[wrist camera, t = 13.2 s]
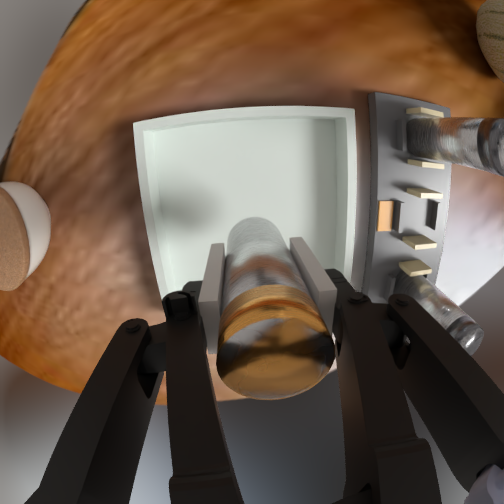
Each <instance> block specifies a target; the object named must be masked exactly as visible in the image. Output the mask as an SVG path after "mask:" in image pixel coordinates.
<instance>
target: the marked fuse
mask: <svg viewBox="0 0 504 504" xmlns="http://www.w3.org/2000/svg"><path fill="white" fill-rule="evenodd" d="M334 358H335V345H334V342H333V339H332V337H331V335H330V333H329V330H328V328H327V326H326V324H325V322H324V320H323V317H322V315H321V313H320V311H319V309H318V307H317V305H316V303H315V302H314V301H313V299H312V297H311V295H310V293H309V291H308V288H307V286H306V284H305V282H304V280H303V278H302V276H301V274H300V272H299V270H298V268H297V265H296V263H295V261H294V259H293V257H292V255H291V253H290V251H289V249H288V247H287V245H286V243H285V241H284V239H283V237H282V235H281V233H280V231H279V229H278V228H277V227H276V225H275V224H274V223H272V222H271V221H269V220H267V219H265V218H261V217H249V218H246V219H243V220H241V221H239V222H238V223H237V224H236V225H235V226H234V227H233V228H232V229H231V231H230V233H229V235H228V239H227V248H226V260H225V271H224V283H223V296H222V309H221V318H220V322H219V332H218V345H217V359H216V366H217V371H218V374H219V376H220V378H221V380H222V381H223V382H224V383H225V384H226V385H227V386H228V387H229V388H230V389H232V390H233V391H235V392H237V393H238V394H241V395H243V396H246V397H249V398H254V399H261V400H276V399H283V398H288V397H292V396H294V395H298V394H300V393H302V392H304V391H306V390H308V389H310V388H311V387H313V386H314V385H316V384H317V383H318V382H319V381H321V380H322V379H323V378H324V377H325V375H326V374H327V373H328V372H329V370H330V368H331V366H332V364H333V362H334Z"/></svg>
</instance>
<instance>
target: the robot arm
mask: <svg viewBox="0 0 504 504" xmlns="http://www.w3.org/2000/svg"><path fill="white" fill-rule="evenodd" d="M289 239H290V253H291V255H292V257H293V259H294V261H295V263H296V265H297V268H298V270H299V272H300V274H301V276H302V278H303V280H304V282H305V284H306V286H307V288H308V291H309V293H310V295H311V297H312V299H313V301H314V302H315V303H316V305H317V307H318V309H319V311H320V313H321V315H322V317H323V320H324V322H325V324H326V326H327V328H328V330H329V333H330V335H331V337H332V332H333V334H334V336H335V338H336V340H335V357H336V363H337V371H338V378H339V388H340V398H341V408H342V419H343V433H344V448H345V468H346V481H345V486H344V491H343V499H341V500H339V501H337V502H335V503H332V504H442V502H441V495H440V490H439V484H438V479H437V474H436V469H435V465H434V460H433V456H432V452H431V448H430V445H429V443H428V442H427V440H426V439H423V438H418V437H417V436H416V433H415V430H414V426H413V422H412V418H411V414H410V411H409V407H408V404H407V400H406V397H405V394H404V391H405V393H406V394H407V396H408V397H409V399H410V400H411V402H412V404H413V406H414V407H415V409H416V410H417V412H418V414H419V415H420V417H421V419H422V420H423V422H424V424H425V425H426V427H427V429H428V430H429V432H430V434H431V436H432V437H433V439H434V441H435V442H436V444H437V446H438V448H439V449H440V451H441V453H442V455H443V457H444V458H445V460H446V462H447V464H448V465H449V467H450V469H451V471H452V473H453V474H454V476H455V477H456V479H457V480H458V481H459V483H460V484H461V485H462V486H463V488H464V489H465V490H466V491H468V492H469V496H468V497H466V499H465V502H464V504H504V394H503V393H502V392H501V390H500V389H499V388H498V387H497V385H496V384H495V383H494V382H493V381H492V379H491V378H490V377H489V376H488V375H487V374H486V373H485V371H484V370H483V369H482V368H481V367H480V366H479V365H478V364H477V363H476V361H475V360H474V359H473V358H472V357H471V356H470V355H469V354H468V353H467V351H466V350H465V349H464V348H463V347H462V346H461V345H460V344H459V343H458V342H457V341H456V340H455V339H454V338H453V337H452V336H451V335H450V334H449V333H448V332H447V331H446V330H445V328H444V327H443V326H442V325H441V324H440V323H439V322H438V321H437V320H436V319H435V318H433V317H432V316H431V315H430V314H429V313H428V312H427V311H426V310H425V309H424V308H423V307H422V306H421V305H420V304H419V303H418V302H417V301H416V300H415V299H414V298H412V297H411V296H409V295H406V294H402V293H399V294H393V295H391V296H390V297H389V298H388V302H387V304H386V303H372V302H371V299H370V298H369V297H368V296H367V295H365V294H363V293H360V292H356V291H355V290H354V289H353V287H352V286H351V285H350V283H349V282H348V281H347V279H346V278H345V277H344V275H343V274H342V273H341V272H340V271H338V270H336V269H334V268H332V269H323V267H322V266H321V264H320V263H319V261H318V260H317V258H316V257H315V255H314V254H313V252H312V251H311V250H310V248H309V247H308V245H307V244H306V242H305V241H304V239H303V238H302V237H291V238H289ZM225 260H226V257H225V247H224V243H215V244H211V248H210V252H209V256H208V260H207V265H206V269H205V273H204V278H203V280H201V281H189V282H187V283H186V284H185V285H184V286H183V288H182V290H179V291H174V292H171V293H169V294H167V295H166V296H164V297H163V299H162V305H163V308H164V312H165V316H166V322H164V323H161V324H157V325H153V326H149V325H148V323H147V321H145V320H144V319H139V318H136V319H130V320H127V321H126V322H124V323H122V324H121V325H120V327H119V328H118V330H117V331H116V333H115V335H114V336H113V338H112V340H111V341H110V343H109V345H108V346H107V348H106V350H105V352H104V353H103V355H102V357H101V358H100V360H99V362H98V364H97V366H96V367H95V369H94V371H93V373H92V375H91V376H90V378H89V380H88V382H87V384H86V386H85V388H84V389H83V391H82V393H81V395H80V397H79V399H78V401H77V403H76V405H75V407H74V409H73V411H72V413H71V415H70V417H69V419H68V421H67V423H66V425H65V427H64V430H63V432H62V434H61V436H60V438H59V440H58V442H57V445H56V447H55V449H54V451H53V454H52V456H51V458H50V461H49V463H48V466H47V468H46V471H45V473H44V476H43V478H42V481H41V483H40V486H39V488H38V489H37V490H36V491H35V492H34V493H33V494H32V495H31V497H30V498H29V499H28V500H27V501H26V502H25V503H24V504H129V501H130V496H131V492H132V488H133V483H134V480H135V475H136V471H137V467H138V463H139V459H140V456H141V451H142V448H143V444H144V440H145V437H146V433H147V430H148V426H149V422H150V418H151V415H152V412H153V408H154V405H155V402H156V398H157V395H158V392H159V388H160V385H161V382H162V378H163V375H164V371H166V387H167V408H168V424H169V436H170V448H171V458H172V466H173V476H172V477H171V478H170V480H169V493H170V500H171V504H244V501H243V498H242V495H241V492H240V489H239V485H238V482H237V479H236V475H235V472H234V468H233V465H232V461H231V457H230V454H229V450H228V446H227V442H226V438H225V435H224V430H223V426H222V422H221V418H220V414H219V410H218V406H217V401H216V396H215V392H214V387H213V383H212V378H211V373H210V368H209V363H208V358H207V354H206V350H207V349H208V353H209V354H217V345H218V332H219V322H220V318H221V309H222V296H223V283H224V271H225ZM407 337H408V338H409V340H410V344H409V343H408V342H407V341H406V339H407ZM334 359H335V358H334Z"/></svg>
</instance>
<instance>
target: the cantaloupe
mask: <svg viewBox="0 0 504 504" xmlns="http://www.w3.org/2000/svg"><path fill="white" fill-rule="evenodd" d="M476 29H477V39H478V43H479V45H480V48H481V50H482V53H483V55H484V57H485V58H486V60H487V62H488V64H489V65H490V67H491V68H492V70H493V71H494V73H495V74H496V76H497V77H498V78H499V79H500V80H501V81H502V82H503V83H504V0H487V1H486V2H485V3H483V4H482V5H481V6H480V8H479V10H478V13H477V21H476Z"/></svg>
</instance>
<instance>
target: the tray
mask: <svg viewBox="0 0 504 504" xmlns="http://www.w3.org/2000/svg"><path fill="white" fill-rule="evenodd" d="M133 129H134V141H135V152H136V161H137V170H138V178H139V185H140V193H141V199H142V206H143V212H144V218H145V224H146V230H147V235H148V240H149V245H150V250H151V255H152V260H153V265H154V269H155V274H156V278H157V283H158V287H159V291H160V295H161V299H163V297H164V296H166V295H167V294H169V293H171V292H174V291H179V290H182V288H183V286H184V285H185V284H186V283H187V282H189V281H201V280H203V278H204V273H205V269H206V265H207V260H208V256H209V252H210V248H211V244H215V243H224V247H225V257H226V248H227V239H228V235H229V233H230V231H231V229H232V228H233V227H234V226H235V225H236V224H237V223H238V222H239V221H241V220H243V219H246V218H249V217H261V218H265V219H267V220H269V221H271V222H272V223H274V224H275V225H276V227H277V228H278V229H279V231H280V233H281V235H282V237H283V239H284V241H285V243H286V245H287V247H288V249H289V251H290V239H289V238H291V237H302V238H303V239H304V241H305V242H306V244H307V245H308V247H309V248H310V250H311V251H312V252H313V254H314V255H315V257H316V258H317V260H318V261H319V263H320V264H321V266H322V267H323V269H332V268H334V269H336V270H338V271H340V272H341V273H342V274H343V275H344V277H345V278H346V279H347V281H348V282H349V283H351V273H352V263H353V251H354V236H355V218H356V184H357V161H356V127H355V110H354V109H351V108H338V107H319V106H260V107H242V108H228V109H217V110H208V111H199V112H192V113H185V114H178V115H172V116H166V117H160V118H155V119H149V120H144V121H140V122H135V123H133Z"/></svg>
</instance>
